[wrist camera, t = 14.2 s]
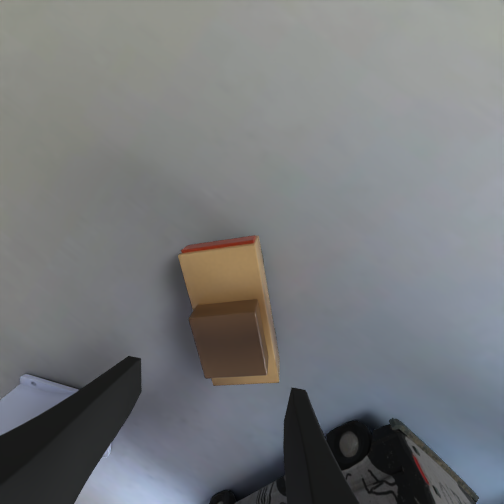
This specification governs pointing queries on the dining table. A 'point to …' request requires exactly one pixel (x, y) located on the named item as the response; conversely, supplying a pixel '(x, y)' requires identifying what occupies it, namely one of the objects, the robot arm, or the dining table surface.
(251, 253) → the wooden car
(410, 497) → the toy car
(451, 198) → the dining table surface
